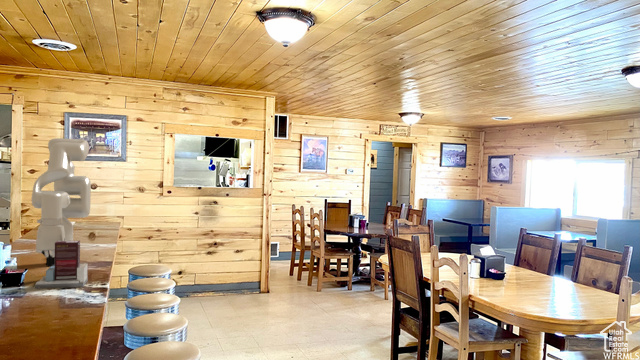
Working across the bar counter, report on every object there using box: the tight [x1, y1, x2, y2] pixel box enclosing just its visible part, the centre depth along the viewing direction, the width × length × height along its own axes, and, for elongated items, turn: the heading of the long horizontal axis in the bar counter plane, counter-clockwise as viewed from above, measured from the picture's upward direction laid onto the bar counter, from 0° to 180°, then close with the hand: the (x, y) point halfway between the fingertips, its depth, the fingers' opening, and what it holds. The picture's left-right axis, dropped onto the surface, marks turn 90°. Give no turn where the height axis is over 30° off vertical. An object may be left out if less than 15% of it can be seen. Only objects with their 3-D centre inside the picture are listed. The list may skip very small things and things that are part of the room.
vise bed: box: [34, 263, 89, 289], centre depth 191 cm, size 10×17×8 cm, turn 107°
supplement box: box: [55, 240, 81, 281], centre depth 192 cm, size 9×5×16 cm, turn 107°
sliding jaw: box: [45, 264, 55, 281], centre depth 194 cm, size 16×2×5 cm, turn 17°
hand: (50, 266), depth 198 cm, fingers closed
